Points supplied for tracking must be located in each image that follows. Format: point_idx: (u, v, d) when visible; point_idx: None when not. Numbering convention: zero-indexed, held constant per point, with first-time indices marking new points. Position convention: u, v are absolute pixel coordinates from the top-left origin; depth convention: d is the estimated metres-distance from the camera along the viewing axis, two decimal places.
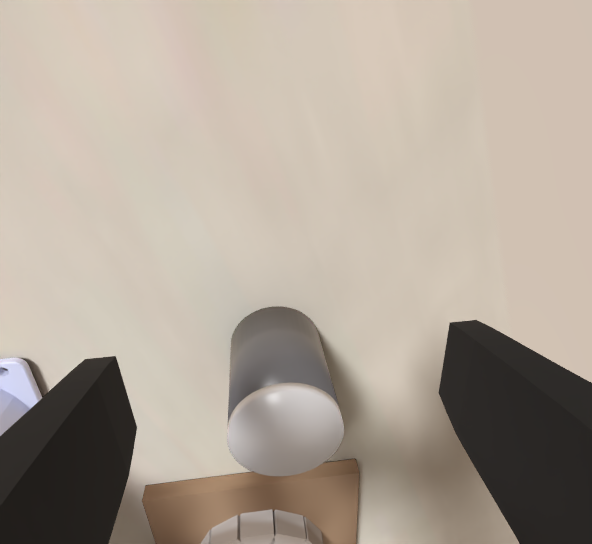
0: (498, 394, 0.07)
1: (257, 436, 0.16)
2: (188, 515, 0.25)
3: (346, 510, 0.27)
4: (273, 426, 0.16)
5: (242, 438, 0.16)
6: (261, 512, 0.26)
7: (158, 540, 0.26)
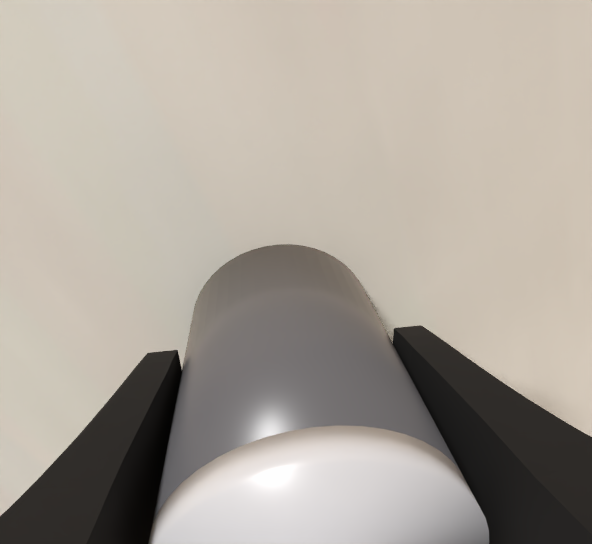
0: (432, 402, 0.07)
1: None
2: None
3: None
4: None
5: None
6: None
7: None
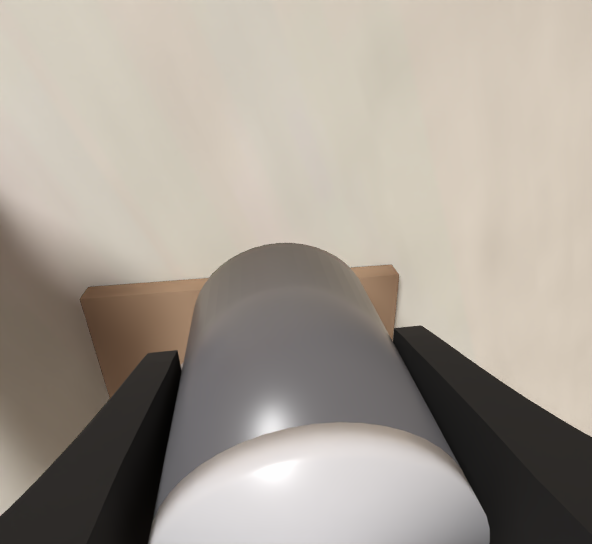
0: (432, 402, 0.07)
1: None
2: (150, 333, 0.17)
3: None
4: None
5: None
6: None
7: (108, 376, 0.18)
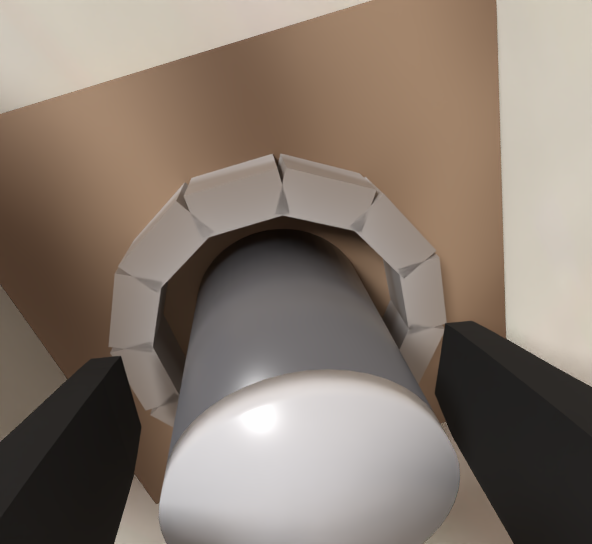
0: (493, 394, 0.07)
1: (238, 512, 0.06)
2: (55, 195, 0.10)
3: (471, 143, 0.10)
4: (282, 484, 0.06)
5: (199, 516, 0.06)
6: (244, 160, 0.10)
7: (17, 294, 0.11)
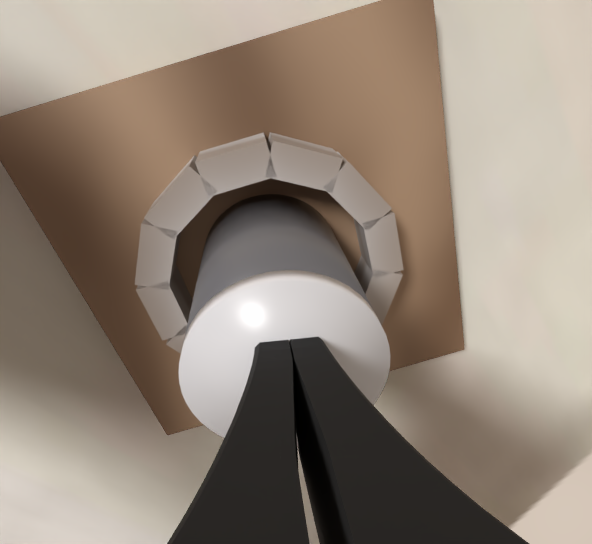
0: (306, 416, 0.07)
1: (234, 372, 0.09)
2: (93, 164, 0.12)
3: (421, 125, 0.13)
4: None
5: (206, 374, 0.09)
6: (241, 137, 0.12)
7: (60, 246, 0.13)
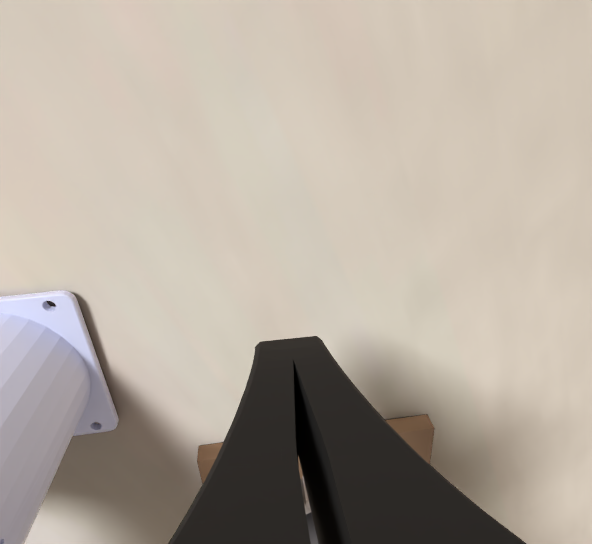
0: (304, 417, 0.07)
1: None
2: None
3: None
4: None
5: None
6: None
7: None
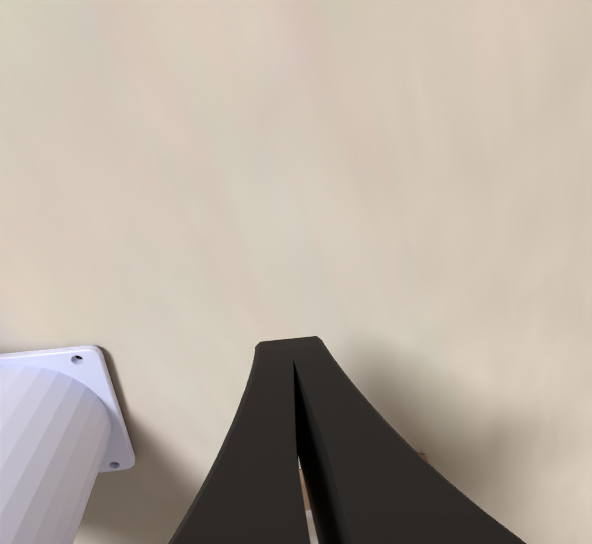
0: (304, 416, 0.07)
1: None
2: None
3: None
4: None
5: None
6: None
7: None
